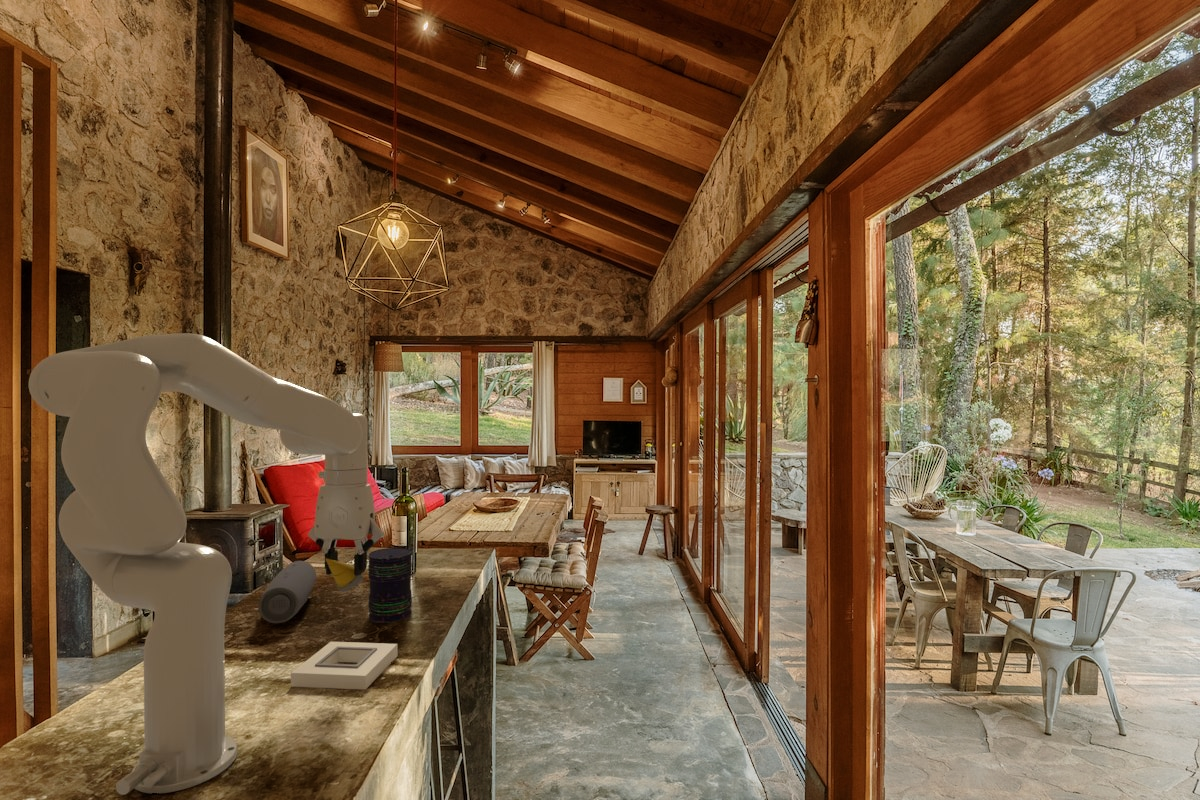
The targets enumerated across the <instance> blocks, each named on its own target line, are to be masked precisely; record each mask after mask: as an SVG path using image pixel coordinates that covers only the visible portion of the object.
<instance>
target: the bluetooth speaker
mask: <svg viewBox="0 0 1200 800" xmlns="http://www.w3.org/2000/svg"><path fill="white" fill-rule="evenodd" d="M316 579H317V572H316V569H315V567H314V566H313V565H312V564H311V563H309V562H308V561H306V560H305V561H304V560H295V561H293V562H291V563H289V564H287V565H286V566H285V567H284V568H282V570H281V571H279V573H277V575H275V577H274V578H273V579H272V580H271V582H270V583H269V584H268V585H267V587H266V588H265V589H264V592H263V593H262V595H261V597H260V600H259V602H258V612H259V615H260V616H261V617H262V619H263V620H265V621H267V623H271V624H282V623H286V622H287V621H289V620H291V619H293V618H294V616H296V614H297V613H298V612H299V611H300V610H301V609H302V607H303V606H304V605H305V603H306V602H307V601H308V599H309V598H310V595H312V594H311V592H312V590H313V589H314V586H315V584H316Z"/></svg>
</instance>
